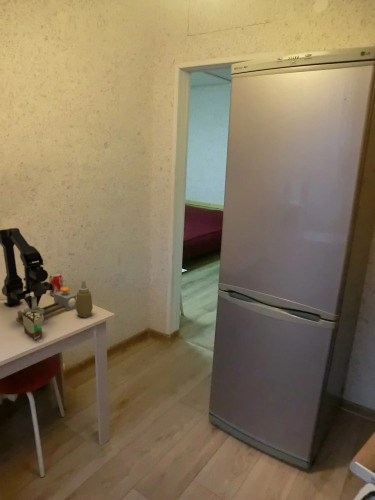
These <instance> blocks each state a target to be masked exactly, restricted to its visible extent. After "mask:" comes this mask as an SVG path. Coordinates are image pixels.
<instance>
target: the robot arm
mask: <svg viewBox="0 0 375 500" xmlns="http://www.w3.org/2000/svg"><path fill="white" fill-rule="evenodd" d="M0 246H1V247H2V251H3V256H4V257H3V258H4V262H5V263H4V264H5V265H4V266H5V269H6V270H5V272H6V276H5V277H4V280H3V286H2V288H1V294H2V295H3V296H5V297H6V302H4V303H3V304H4V306H7V307H9V308H14V307H16V306H20V305H22V304H23V302H22V300H24V301H25V303H26V304H27V306H28V308H30V309H31V308H32V304H31V298H32V297H37V307H39V304H40V301H41V298H42V296H43V295H46V294H47V291H48V292H50V290H52V289H53V284H52V283H49V281H47V279H49V278H48V277H49V273H48V271H47V270H46V269H44V264H45V263H44V259H43V257H42V255H41V254H40V253H41V252H40V251H39V250H38V249H37V248H36V247H35V246H33V245H30V244H29V243H28V241H27V240H26V238H25V237H24V236H23V235H22V233H21V230H20V228H17V227H11V228H7V229H6V228H4V229H0ZM14 246H15V247H16V248H17V250H18V251H19V252H20V253H19V259H20V261H21V262H22V266H23V268H24V271H23V272H24V277H21V276H20V275H18V270H17V269H18V268H17V264H16V263H17V262H16V254H15V247H14ZM23 281H24V282H23ZM24 283H25V285H24ZM24 289H25V290H24ZM32 293H33V296H31V294H32Z"/></svg>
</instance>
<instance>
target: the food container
mask: <svg viewBox="0 0 375 500" xmlns="http://www.w3.org/2000/svg"><path fill="white" fill-rule="evenodd" d="M22 316H23V323H24V325H23V329H24V334H25V336H27V337H28V338H30V339H31V340H32V341H33V342H36V341H38V340H40V339H41V338H42V335H43V321H45V320H44V317H43V314H42V313H41V312H39V311H34V310H30V311H24V310H23V311H22Z"/></svg>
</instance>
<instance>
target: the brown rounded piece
mask: <svg viewBox="0 0 375 500" xmlns="http://www.w3.org/2000/svg"><path fill="white" fill-rule="evenodd" d="M60 291H61V292H63V295H67V292H70V287H68V286H63V287H62V288H60Z"/></svg>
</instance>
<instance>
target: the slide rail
mask: <svg viewBox="0 0 375 500" xmlns="http://www.w3.org/2000/svg"><path fill="white" fill-rule="evenodd" d="M41 308H42V309H44V313H43V317H44V320H43V321H45V320H48V319H50V318H52V317H55V316H58V315H60V314H62V313H65V312H67V311H66V308H64V305H62V306H60V305H58V303H57V302H56V303H54V302H53V303H51V304H49V305H46V306H43V307H41ZM22 312H23V311H21V310H18V311H17V317H16V318H15V322H17V323H20V324H22V325H23V326H24V323H23V316H22Z"/></svg>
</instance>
